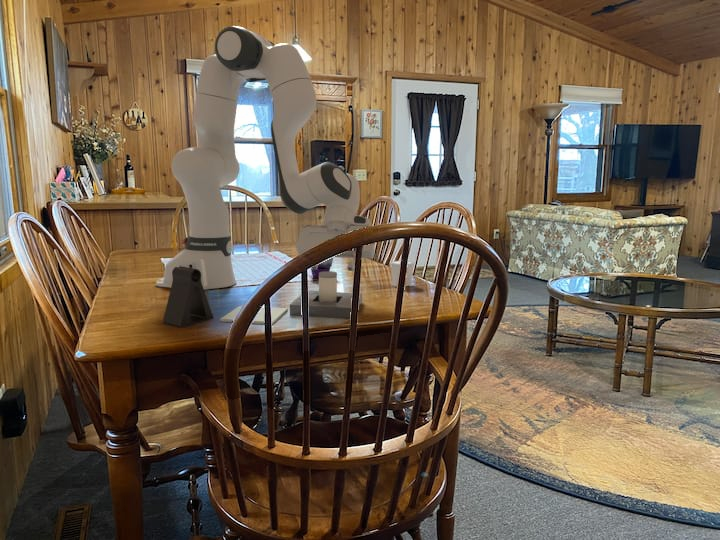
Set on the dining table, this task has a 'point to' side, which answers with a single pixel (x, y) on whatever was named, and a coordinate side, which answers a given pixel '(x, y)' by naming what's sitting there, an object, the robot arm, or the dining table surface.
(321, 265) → the potion bottle
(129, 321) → the dining table surface
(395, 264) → the shot glass
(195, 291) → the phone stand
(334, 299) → the end cover
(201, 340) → the dining table surface
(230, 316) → the mat
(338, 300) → the block
